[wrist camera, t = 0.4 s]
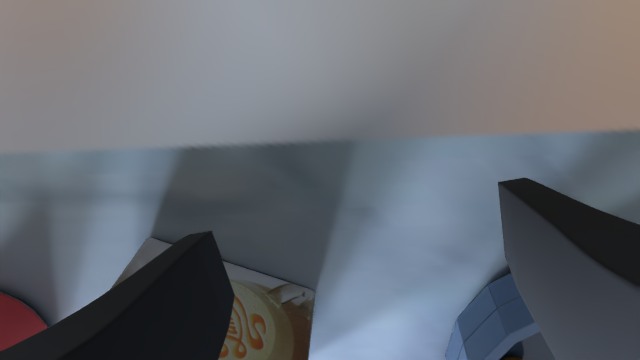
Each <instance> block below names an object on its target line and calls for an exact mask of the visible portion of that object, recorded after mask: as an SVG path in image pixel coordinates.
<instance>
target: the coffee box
mask: <svg viewBox="0 0 640 360" xmlns="http://www.w3.org/2000/svg"><path fill="white" fill-rule="evenodd" d="M170 246H172V244H169V243H166V242H162V241H159V240H156V239H153V238H148V239H146V241H145V242H144V244H143V245H142V246H141V248H140V249H139V250H138V252H137V253H136V254H135V256H134V257H133V259H132V260H131V261H130V263H129V264H128V265H127V267H126V268H125V270H124V271H123V273H122V274H121V275H120V277H119V278H118V280H117V281H116V282H115V284H114V285H113V286H112V288H114V287H115V286H116V285H118V284H119V283H121V282H122V281H124V280H125V279H127V278H128V277H129V276H131V275H132V274H134V273H135V272H136V271H138V270H139V269H140V268H142V267H143V266H144V265H146V264H147V263H149V262H150V261H151V260H153V259H154V258H155V257H157V256H158V255H159V254H161V253H162V252H163V251H165V250H166V249H168V248H169V247H170ZM223 264H224V266H225V269H226V272H227V275H228V277H229V280H230V283H231V286H232V288H233V291H234V294H235V297H234V303H233V309H232V315H231V320H230V325H229V329H228V332H227V335H226V338H225V341H224V344H223V347H222V350H221V353H220V356H219V359H218V360H308V358H309V347H310V339H311V330H312V321H313V313H314V305H315V296H316V295H315V292H314V291H313V290H311V289H308V288H305V287H302V286H299V285H296V284H292V283H289V282H286V281H283V280H280V279H277V278H274V277H271V276H268V275H265V274H262V273H258V272H255V271H252V270H249V269H246V268H243V267H240V266H237V265H234V264H231V263H228V262H225V261H223ZM112 288H111V289H112ZM111 289H110V290H111Z"/></svg>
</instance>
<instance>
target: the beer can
mask: <svg viewBox="0 0 640 360" xmlns="http://www.w3.org/2000/svg"><path fill="white" fill-rule="evenodd" d="M47 328H48V327H47V325H46V323H45V322H44V321H43V319H42V318H41V317H40V316H39V315H38V314H37V313H36V312H35V310H33V309H32V308H30V307H29V306H27V305H26V304H25V303H23V302H22V301H20V300H19V299H16V298H14V297H12V296H9V295H7V294H4V293H2V292H0V351H2V350H4V349H7V348H9V347H11V346H13V345H15V344H17V343H19V342H21V341H23V340H25V339H27V338H29V337H31V336H33V335H35V334H37V333H39V332H41V331H43V330H45V329H47Z"/></svg>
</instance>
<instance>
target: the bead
mask: <svg viewBox="0 0 640 360" xmlns="http://www.w3.org/2000/svg"><path fill="white" fill-rule="evenodd" d="M502 360H523V359H521V358H518V357H506V358H504V359H502Z"/></svg>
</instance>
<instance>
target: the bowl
mask: <svg viewBox="0 0 640 360" xmlns="http://www.w3.org/2000/svg"><path fill="white" fill-rule="evenodd" d="M506 357H518V358H521V359H523V360H556V359H555V357H554V355H553V353H552V352H551V350H550V348H549V346H548V344H547V343H546V341H545V339H544V337H543V335H542V333H541V332H540V330H539V328H538V326H537V324H536V322H535V321H534V319H533V317H532V315H531V313H530V311H529V310H528V308H527V306H526V304H525V302H524V300H523V298H522V297H521V295H520V293H519V291H518V289H517V286H516V284H515V281H514V278H513V276H512V273H509V274H507V275H506V276H504V277H502V278H500V279H498V280H496V281H494V282H492V283H490V284H489V285H487V286H486V287H485V288H484V289H483V290H482V291H481V292H480V294H479V295H478V296H477V297H476V298H475V299H474V300H473V301H472V302H471V303H470V304H469V305H468V307H467V308H466V309H465V310H464V311H463V312H462V313H461V314H460V315H459V316H458V318H457V320H456V323H455V326H454V329H453V332H452V336H451V339H450V342H449V345H448V348H447V351H446V360H502V359H504V358H506Z"/></svg>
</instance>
